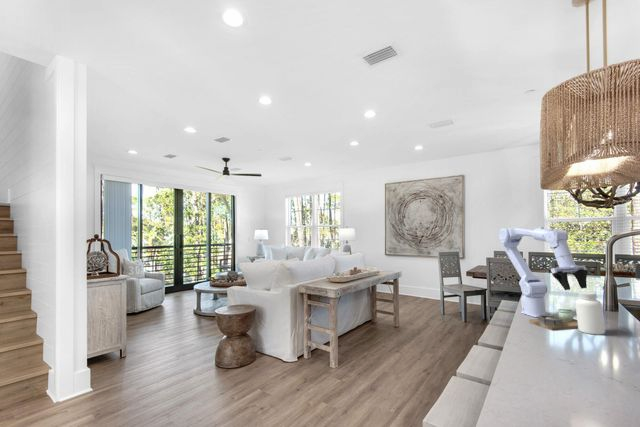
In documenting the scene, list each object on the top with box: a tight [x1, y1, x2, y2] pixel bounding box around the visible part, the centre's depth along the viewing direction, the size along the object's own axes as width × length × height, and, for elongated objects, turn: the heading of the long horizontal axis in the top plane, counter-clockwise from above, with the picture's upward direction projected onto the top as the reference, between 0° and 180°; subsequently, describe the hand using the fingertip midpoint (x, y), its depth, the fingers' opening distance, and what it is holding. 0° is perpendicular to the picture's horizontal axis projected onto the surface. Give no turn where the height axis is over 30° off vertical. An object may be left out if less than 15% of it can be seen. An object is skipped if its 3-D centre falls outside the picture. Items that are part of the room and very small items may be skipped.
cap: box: [557, 308, 574, 321], centre depth 134 cm, size 5×5×4 cm
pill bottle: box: [574, 291, 606, 335], centre depth 122 cm, size 8×8×15 cm
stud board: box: [528, 314, 578, 331], centre depth 132 cm, size 12×18×4 cm, turn 96°
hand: (575, 289), depth 129 cm, fingers open, 7 cm apart
